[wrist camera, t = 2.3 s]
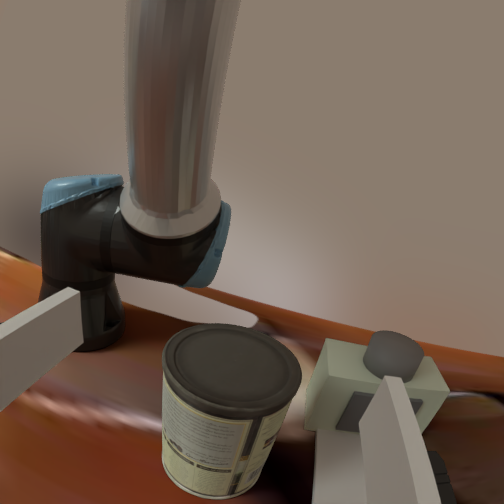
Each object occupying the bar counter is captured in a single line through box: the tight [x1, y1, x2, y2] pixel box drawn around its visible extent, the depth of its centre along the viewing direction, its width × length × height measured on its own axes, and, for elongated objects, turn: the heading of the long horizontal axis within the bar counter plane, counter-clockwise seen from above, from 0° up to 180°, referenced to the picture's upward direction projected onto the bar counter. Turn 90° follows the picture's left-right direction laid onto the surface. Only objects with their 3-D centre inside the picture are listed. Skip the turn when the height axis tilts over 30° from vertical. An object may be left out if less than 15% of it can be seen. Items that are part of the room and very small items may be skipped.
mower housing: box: [304, 331, 450, 504], centre depth 27 cm, size 21×16×12 cm
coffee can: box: [162, 323, 302, 499], centre depth 23 cm, size 10×10×14 cm
